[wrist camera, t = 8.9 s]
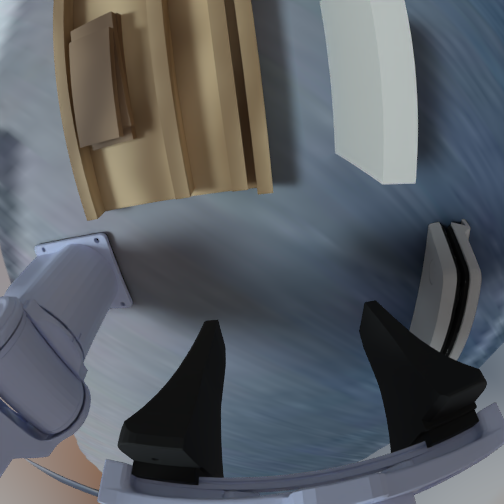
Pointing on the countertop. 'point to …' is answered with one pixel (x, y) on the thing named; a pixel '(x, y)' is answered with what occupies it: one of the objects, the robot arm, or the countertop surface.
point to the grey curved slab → (447, 290)
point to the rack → (172, 103)
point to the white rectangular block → (373, 86)
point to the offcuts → (100, 83)
